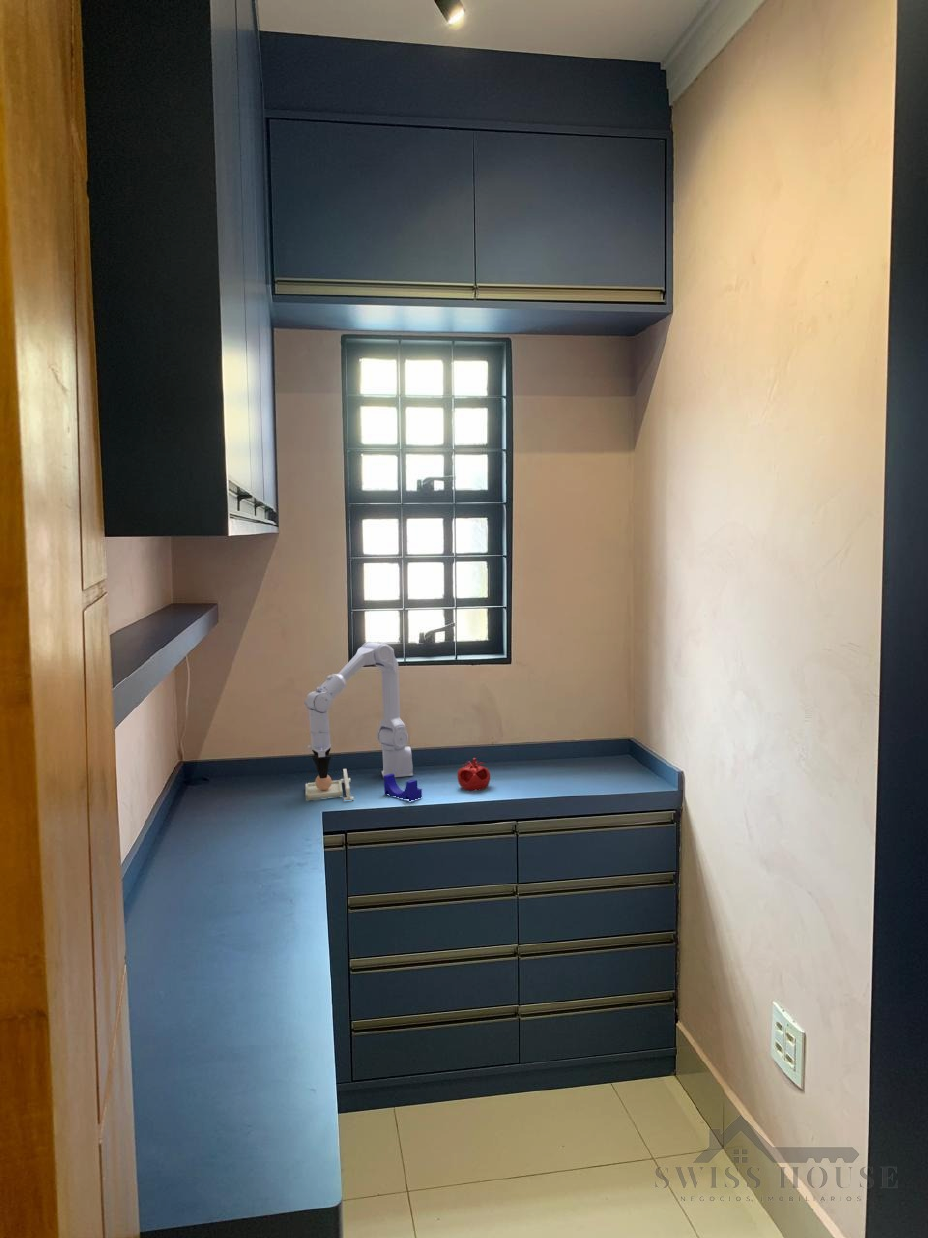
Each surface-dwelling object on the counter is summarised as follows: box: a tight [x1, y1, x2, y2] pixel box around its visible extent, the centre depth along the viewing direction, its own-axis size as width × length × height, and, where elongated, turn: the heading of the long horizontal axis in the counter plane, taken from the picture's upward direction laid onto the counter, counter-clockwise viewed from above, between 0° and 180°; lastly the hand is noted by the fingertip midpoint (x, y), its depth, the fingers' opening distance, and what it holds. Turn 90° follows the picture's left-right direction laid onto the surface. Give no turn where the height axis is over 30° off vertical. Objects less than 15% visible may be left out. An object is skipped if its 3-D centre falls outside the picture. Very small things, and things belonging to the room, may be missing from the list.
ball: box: [314, 774, 333, 790], centre depth 268 cm, size 5×5×5 cm
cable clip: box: [383, 774, 423, 801], centre depth 261 cm, size 12×4×6 cm, turn 44°
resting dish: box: [305, 779, 344, 802], centre depth 268 cm, size 11×13×2 cm
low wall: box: [340, 768, 355, 801], centre depth 269 cm, size 3×22×4 cm, turn 10°
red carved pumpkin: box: [456, 757, 491, 792], centre depth 266 cm, size 10×10×9 cm
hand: (323, 774), depth 268 cm, fingers open, 7 cm apart
